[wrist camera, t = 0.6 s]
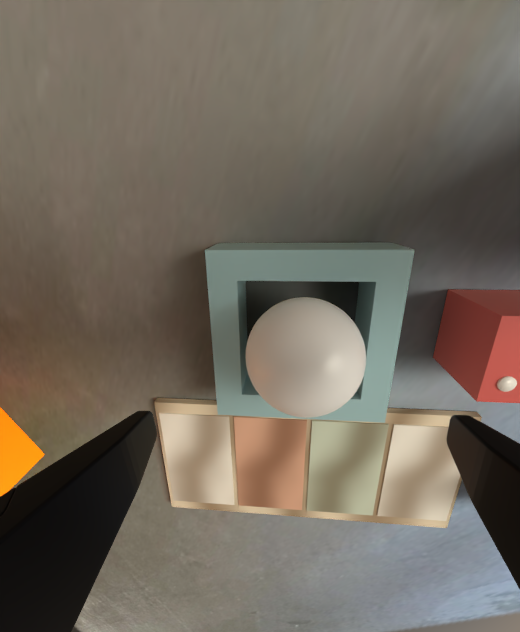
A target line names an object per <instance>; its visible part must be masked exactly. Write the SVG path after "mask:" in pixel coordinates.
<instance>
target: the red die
mask: <svg viewBox="0 0 520 632" xmlns="http://www.w3.org/2000/svg"><path fill="white" fill-rule="evenodd" d="M433 358H434V359H435V360H436V361H437V362H438V363H439V364H440V365H441V366H442V367H443V368H444V369H445V370H446V371H447V372H448V373H449V374H450V375H451V376H452V377H453V378H454V379H455V380H456V381H457V382H458V383H459V384H460V385H461V386H462V387H463V388H464V389H465V390H466V391H467V392H468V393H469V394H470V395H471V396H472V397H473V398H474V399H475V400H476V401H482V402H506V403H520V290H459V289H448V292H447V297H446V301H445V306H444V310H443V315H442V319H441V324H440V328H439V333H438V337H437V341H436V346H435V350H434V355H433Z"/></svg>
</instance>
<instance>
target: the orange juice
mask: <svg viewBox="0 0 520 632" xmlns="http://www.w3.org/2000/svg"><path fill="white" fill-rule="evenodd" d="M44 455H45V454H44V453H43V452H42V451H41V450H40V449H39V448H38V447H37V446H36V445H35V444H34V443H33V441H32V440H31V439H30V438H29V437H28V436H27V435H26V434H25V433H24V432H23V431H22V430H21V429H20V428H19V427H18V426H17V425H16V423H15V422H14V421H13V420H12V419H11V418H10V417H9V416H8V415H7V414H6V413H5V412H4V411H3V410H2V409H1V408H0V496H2V495H3V494H5V493H6V492H8V491H9V490H10V489H11V488H12V487H13V486H14V485H15V484H16V483H17V482H18V481H19V480H20V479H21V478H22V477H23V476H24V475H25V474H26V473H27V472H28V471H29V470H30V469H31V468H32V467H33V466H34V465H35V464H36V463H37V462H38V461H39V460H40V459H41V458H42V457H43V456H44Z"/></svg>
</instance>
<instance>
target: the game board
mask: <svg viewBox="0 0 520 632" xmlns="http://www.w3.org/2000/svg"><path fill="white" fill-rule="evenodd" d="M154 404H155V410H156V416H157V422H158V428H159V434H160V439H161V445H162V451H163V457H164V463H165V469H166V475H167V481H168V487H169V492H170V498H171V504H172V507H182V508H195V509H208V510H221V511H234V512H247V513H260V514H272V515H285V516H298V517H311V518H324V519H337V520H350V521H363V522H376V523H389V524H402V525H414V526H427V527H440V528H447V526H448V522H449V519H450V516H451V513H452V510H453V507H454V503H455V500H456V497H457V494H458V491H459V488H460V484H461V481H462V478H461V476H460V473H459V471H458V469H457V466H456V464H455V462H454V459H453V457H452V455H451V453H450V450H449V448H448V445H447V440H446V438H447V432H448V427H449V422H450V418H451V417H452V416H453V415H469V416H471V417H473V418H475V419H477V420H478V421H481V418H482V417H481V416H480V415H479V414H478V413H477V412H469V411H446V410H424V409H401V408H387V414H386V419H385V423H380V422H359V421H339V420H318V419H297V418H277V417H256V416H235V415H218V411H217V400H197V399H174V398H157V399H156V400H155V402H154Z"/></svg>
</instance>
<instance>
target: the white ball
mask: <svg viewBox="0 0 520 632" xmlns="http://www.w3.org/2000/svg"><path fill="white" fill-rule="evenodd" d="M245 358H246V367H247V371H248V375H249V377H250V380H251V382H252V384H253V386H254V388H255V390H256V391H257V392H258V393H259V395H260V396H261V397H262V398H263V399H264V400H265V401H266V402H267V403H268V404H269V405H271V406H272V407H274V408H275V409H277V410H279V411H281V412H283V413H285V414H288V415H291V416H296V417H304V418H311V417H319V416H323V415H326V414H329V413H331V412H334V411H336V410H337V409H339V408H340V407H342V406H343V405H344V404H346V403H347V402H348V401H349V400H350V399H351V398H352V397H353V395H354V394H355V393H356V391H357V389H358V388H359V386H360V384H361V382H362V379H363V377H364V372H365V367H366V351H365V345H364V341H363V338H362V336H361V333H360V331H359V329H358V327H357V326H356V324H355V323H354V322H353V320H352V319H351V318H350V317H349V316H348V315H347V314H346V313H345V312H344V311H343V310H341V309H340V308H338V307H337V306H335V305H333V304H331V303H329V302H327V301H324V300H321V299H317V298H310V297H298V298H292V299H288V300H285V301H282V302H280V303H278V304H276V305H274V306H273V307H271V308H270V309H268V310H267V311H266V312H265V313H264V314H263V315H262V316H261V317H260V318H259V319H258V320H257V322H256V323H255V325H254V326H253V328H252V330H251V332H250V335H249V338H248V341H247V346H246V357H245Z"/></svg>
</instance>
